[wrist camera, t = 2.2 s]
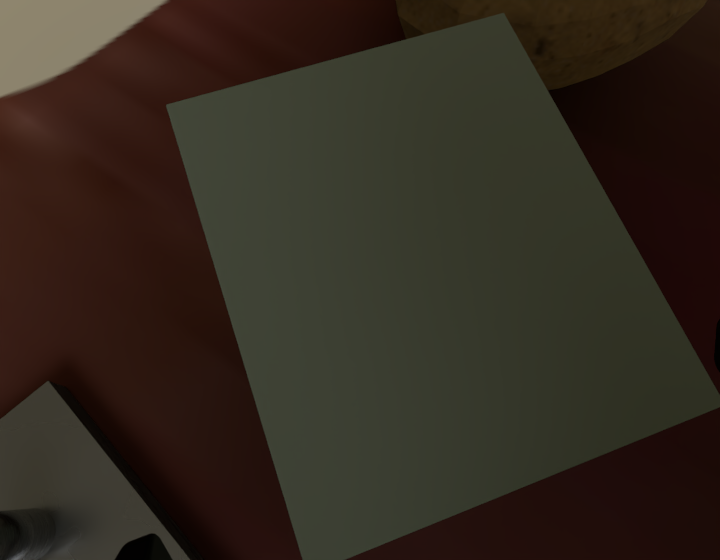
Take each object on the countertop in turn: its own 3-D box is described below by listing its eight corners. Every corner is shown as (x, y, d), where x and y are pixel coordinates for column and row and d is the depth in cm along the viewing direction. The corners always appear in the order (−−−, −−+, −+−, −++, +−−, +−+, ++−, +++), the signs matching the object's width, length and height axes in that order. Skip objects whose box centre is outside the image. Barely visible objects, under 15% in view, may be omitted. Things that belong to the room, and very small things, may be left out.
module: (477, 455, 18) (725, 404, 6) (329, 513, 18) (307, 575, 6) (408, 288, 20) (503, 13, 8) (272, 334, 19) (166, 104, 8)
